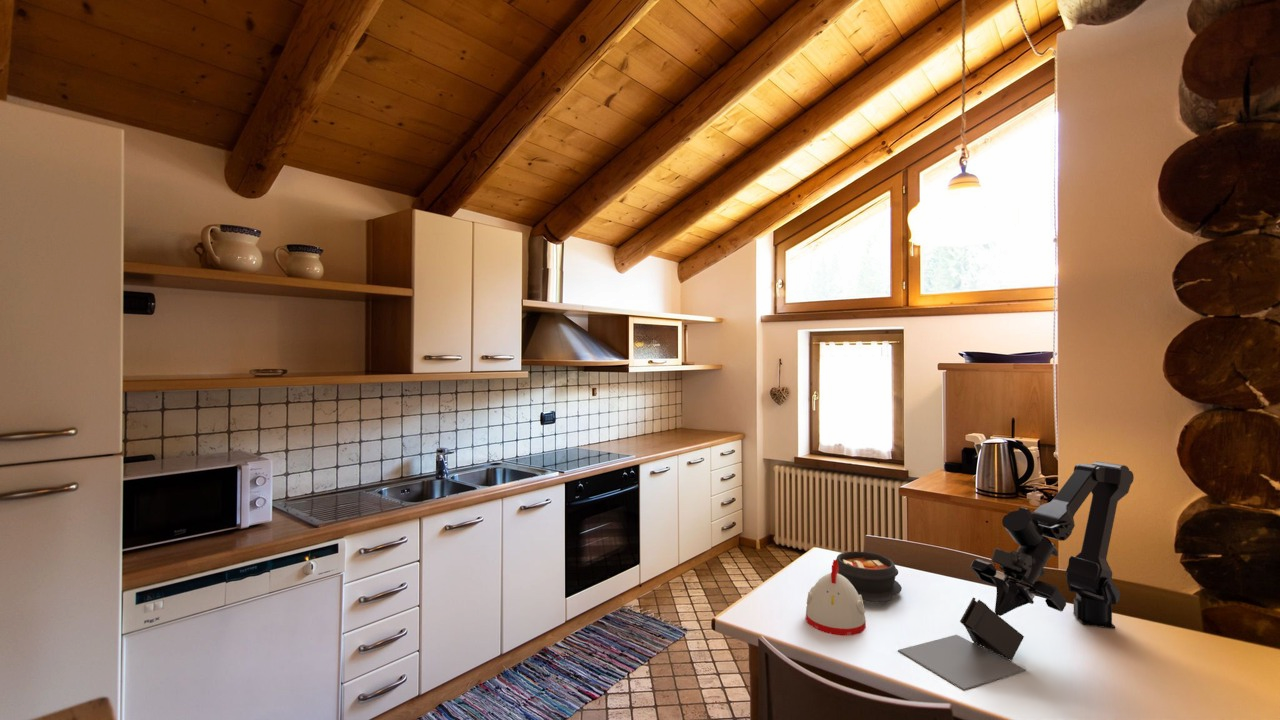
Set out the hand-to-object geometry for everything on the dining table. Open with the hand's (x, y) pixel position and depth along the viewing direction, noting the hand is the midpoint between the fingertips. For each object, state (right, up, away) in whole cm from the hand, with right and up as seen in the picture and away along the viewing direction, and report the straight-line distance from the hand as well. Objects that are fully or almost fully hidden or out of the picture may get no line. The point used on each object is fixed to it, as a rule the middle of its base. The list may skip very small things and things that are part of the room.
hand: (997, 614), depth 125 cm
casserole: (-16, -8, +33) cm, 38 cm away
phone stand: (0, -6, 0) cm, 6 cm away
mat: (-11, -8, -4) cm, 14 cm away
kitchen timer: (-31, -8, +14) cm, 35 cm away
